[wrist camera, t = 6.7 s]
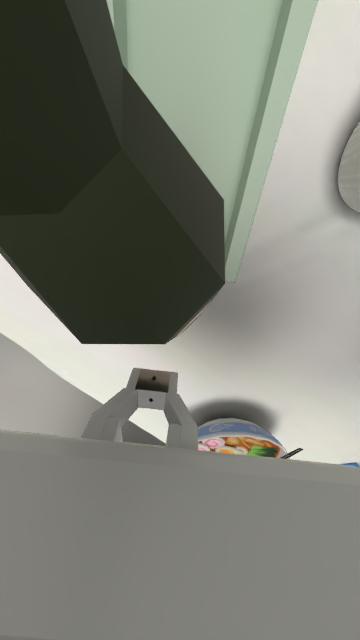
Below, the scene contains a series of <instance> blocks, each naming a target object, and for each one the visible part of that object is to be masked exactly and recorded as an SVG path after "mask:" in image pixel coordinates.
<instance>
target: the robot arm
mask: <svg viewBox="0 0 360 640" xmlns="http://www.w3.org/2000/svg"><path fill="white" fill-rule="evenodd" d="M177 382H178V373H176V372H168V371H157V370H156V371H155V370H148V369H140V368H133V370H132V373H131V375H130V378H129V381H128V384H127V387H126V388H123V389H122V390H121V391H120V392H118V393H117V394H116V395H115V396H114V397H112V398H111V399H110V400H109V401H108V402H106V403H105V404H104V405H103V406H102V407H100V408H99V409H98V410H97V411H96V412H94V413H93V414H92V416H91V418H90V420H89V422H88V424H87V426H86V428H85V430H84V432H83V435H82V436H81V438H78V437H69V436H59V435H49V434H39V433H30V432H19V431H10V430H0V640H360V468H358V467H355V466H350V465H340V464H330V463H320V462H311V461H301V460H291V459H282V458H272V457H262V456H252V455H243V454H233V453H223V452H213V451H204V450H198V433H197V424H196V423H195V421H194V419H193V418H192V416H191V414H190V412H189V411H188V409H187V407H186V406H185V404H184V402H183V401H182V399H181V397H180V395H179V394H177ZM137 408H151V409H158V410H164V413H165V416H166V418H167V421H168V423H169V428H168V434H167V441H166V447H165V446H156V445H146V444H137V443H136V444H135V443H126V442H122V434H121V427H122V426H123V424H124V423H125V422H126V421H127V420H128V419H129V418H130V416H131V415H132V414H133V413H134V412H135V411H136V410H137Z"/></svg>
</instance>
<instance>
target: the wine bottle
mask: <svg viewBox="0 0 360 640" xmlns="http://www.w3.org/2000/svg"><path fill="white" fill-rule="evenodd" d="M0 253H1V255H2V256H3V257H4V258H5V259H6V261H7V262H8V263H9V264H10V265H11V267H12V268H13V269H14V270H15V271H16V272H17V274H18V275H19V276H20V277H21V278H22V280H23V281H24V282H25V283H26V284H27V286H28V287H29V288H30V289H31V290H32V291H33V292H34V293H35V294H36V295H37V296H38V297H39V298H40V300H41V301H42V302H43V303H44V304H45V305H46V306H47V307H48V308H49V309H50V310H51V311H52V312H53V313H54V314H55V316H56V317H57V318H58V319H59V320H60V321H61V322H62V323H63V324H64V325H65V326H66V327H67V328H68V329H69V331H70V332H71V333H72V334H73V335H74V336H75V337H76V338H77V339H78V340H79V341H80V342H81V343H82V344H166V343H167V342H169V341H170V340H172V339H173V338H175V337H176V336H178V335H179V334H181V333H183V332H184V331H185V330H186V329H187V328H188V327H189V326H190V325H191V324H192V323H193V322H194V321H195V320H196V319H197V318H198V317H199V316H200V314H201V313H202V312H203V311H204V309H205V308H206V307H207V306H208V304H209V303H210V302H211V301H212V299H213V298H214V297H215V295H216V294H217V293H218V292H219V290H220V289H221V288H222V287H223V285H224V284H225V238H224V199H223V198H222V197H221V195H220V194H219V193H218V191H217V190H216V189H215V187H214V186H213V185H212V183H211V182H210V180H209V179H208V178H207V176H206V175H205V174H204V172H203V171H202V170H201V168H200V167H199V166H198V164H197V163H196V162H195V160H194V159H193V158H192V156H191V155H190V154H189V152H188V151H187V150H186V148H185V147H184V146H183V144H182V143H181V142H180V140H179V139H178V138H177V136H176V135H175V134H174V132H173V131H172V130H171V128H170V127H169V126H168V124H167V123H166V122H165V120H164V119H163V118H162V116H161V115H160V114H159V112H158V111H157V110H156V108H155V107H154V106H153V104H152V103H151V102H150V100H149V99H148V98H147V96H146V95H145V94H144V92H143V91H142V90H141V88H140V87H139V86H138V84H137V83H136V82H135V80H134V79H133V78H132V76H131V75H130V74H129V72H128V71H127V69H126V68H125V67H124V65H123V63H122V59H121V55H120V51H119V48H118V44H117V40H116V36H115V32H114V28H113V24H112V20H111V16H110V12H109V8H108V5H107V1H106V0H0Z"/></svg>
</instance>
